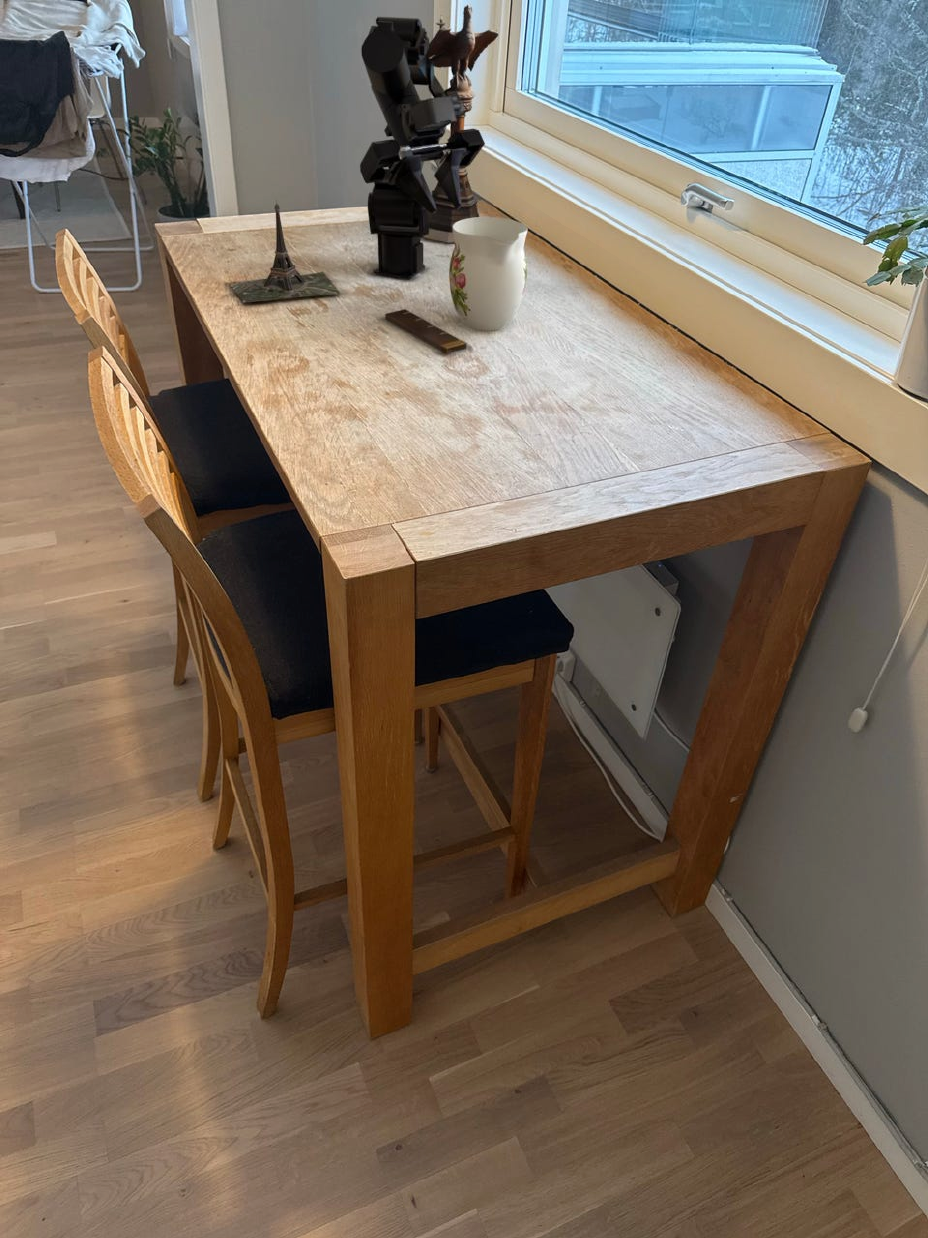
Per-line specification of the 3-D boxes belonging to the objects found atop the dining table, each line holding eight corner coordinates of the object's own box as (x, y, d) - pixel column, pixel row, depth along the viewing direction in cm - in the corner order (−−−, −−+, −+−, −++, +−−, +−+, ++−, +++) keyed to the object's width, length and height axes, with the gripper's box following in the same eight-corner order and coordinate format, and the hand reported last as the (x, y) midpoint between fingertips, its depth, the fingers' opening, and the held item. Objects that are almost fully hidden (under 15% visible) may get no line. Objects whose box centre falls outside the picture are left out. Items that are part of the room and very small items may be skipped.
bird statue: (390, 216, 167) (396, -12, 145) (453, 214, 172) (469, -7, 150) (424, 244, 155) (436, 1, 134) (491, 240, 160) (514, 5, 138)
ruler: (385, 319, 130) (384, 312, 130) (404, 314, 132) (404, 308, 132) (445, 354, 121) (446, 347, 121) (466, 348, 123) (466, 342, 123)
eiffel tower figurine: (242, 307, 132) (230, 211, 124) (229, 284, 140) (216, 192, 131) (340, 296, 137) (335, 203, 128) (322, 274, 144) (316, 185, 136)
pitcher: (496, 294, 139) (501, 200, 131) (541, 338, 126) (550, 237, 118) (429, 301, 136) (429, 205, 128) (468, 347, 123) (472, 243, 115)
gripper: (367, 74, 117) (416, 184, 117) (479, 64, 126) (524, 166, 126) (339, 129, 127) (384, 231, 127) (445, 116, 136) (487, 212, 136)
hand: (446, 209), depth 129 cm, fingers open, 4 cm apart
